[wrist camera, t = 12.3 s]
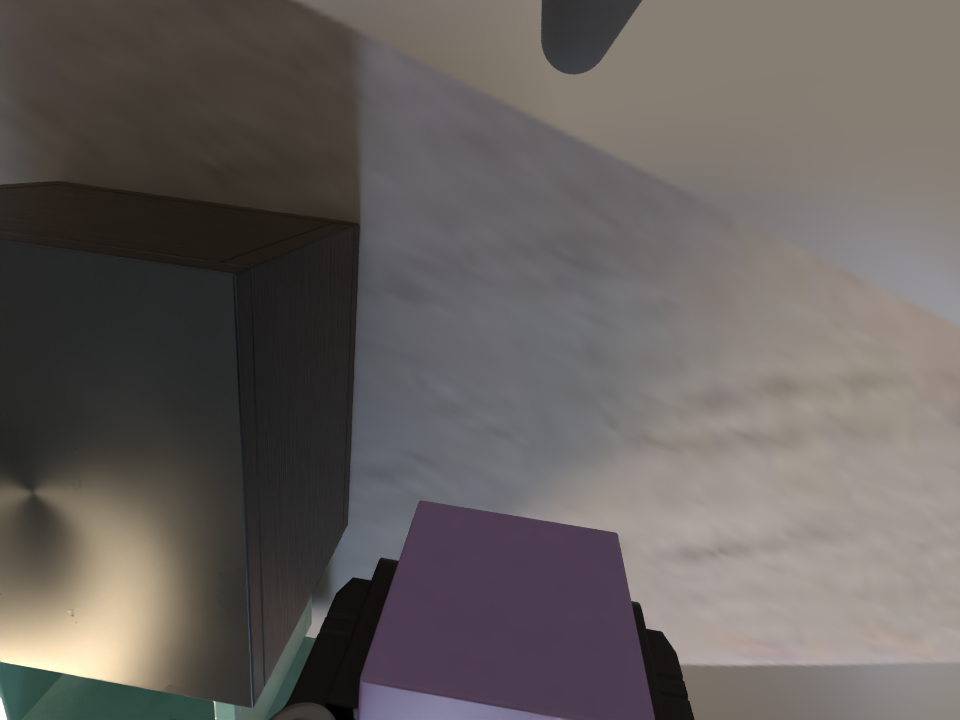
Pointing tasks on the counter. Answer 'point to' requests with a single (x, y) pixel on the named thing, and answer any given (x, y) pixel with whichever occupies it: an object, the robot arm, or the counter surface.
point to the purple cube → (505, 624)
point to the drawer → (142, 692)
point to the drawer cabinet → (168, 433)
